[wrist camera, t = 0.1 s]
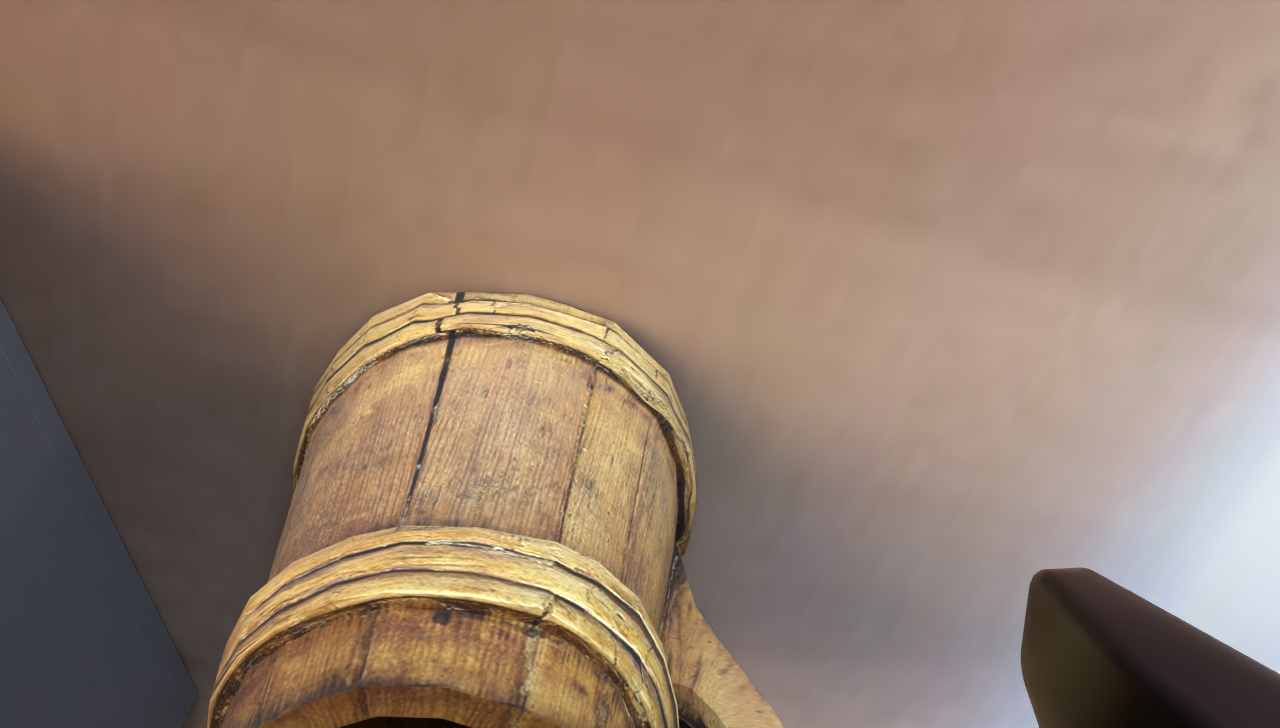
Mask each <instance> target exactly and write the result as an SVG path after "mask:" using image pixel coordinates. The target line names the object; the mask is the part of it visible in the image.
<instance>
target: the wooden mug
mask: <svg viewBox="0 0 1280 728" xmlns="http://www.w3.org/2000/svg"><path fill="white" fill-rule="evenodd" d="M696 504H697V486H696V464H695V459H694V454H693V448H692V443H691V437H690V432H689V427H688V421H687V417H686V415H685V413H684V410H683V408H682V405H681V403H680V400H679V398H678V395H677V393H676V390H675V388H674V385H673V383H672V381H671V378H670V376H669V373H668V372H667V371H666V370H665V369H664V368H662V367H661V366H660V365H659V364H658V363H657V362H656V361H655V360H654V359H653V358H652V357H651V356H650V355H649V354H648V353H646V352H645V351H644V350H643V349H642V348H641V347H640V346H639V345H638V344H637V343H636V342H635V341H634V340H633V339H632V338H631V337H629V336H628V335H627V334H626V333H625V332H624V331H623V330H622V329H621V328H620V327H619V326H618V325H617V324H616V323H615V322H613V321H610V320H607V319H604V318H601V317H598V316H595V315H592V314H589V313H587V312H584V311H581V310H578V309H575V308H573V307H571V306H569V305H566V304H562V303H559V302H555V301H551V300H548V299H544V298H541V297H537V296H534V295H525V294H506V293H488V292H456V293H427V294H425V295H423V296H420V297H418V298H415V299H413V300H411V301H408V302H406V303H403V304H401V305H398V306H396V307H394V308H391V309H389V310H386V311H384V312H381V313H379V314H377V315H374V316H373V317H372V318H371V319H370V320H369V321H368V322H367V323H366V324H365V325H364V326H363V327H362V328H361V329H360V330H359V331H358V332H357V333H356V334H355V335H354V336H353V337H352V338H351V339H350V340H349V341H348V342H347V343H346V344H345V345H344V346H343V347H342V348H341V349H340V350H339V351H338V353H337V354H336V356H335V357H334V359H333V360H332V362H331V363H330V365H329V366H328V368H327V369H326V371H325V372H324V374H323V375H322V377H321V378H320V380H319V381H318V383H317V384H316V386H315V387H314V391H313V394H312V398H311V401H310V405H309V409H308V412H307V416H306V419H305V423H304V426H303V430H302V434H301V438H300V442H299V446H298V450H297V454H296V458H295V462H294V466H293V499H292V502H291V505H290V509H289V512H288V515H287V519H286V522H285V525H284V529H283V532H282V535H281V539H280V542H279V545H278V549H277V552H276V555H275V559H274V562H273V565H272V569H271V572H270V575H269V579H268V582H267V584H266V585H265V586H263V587H262V588H261V589H260V590H259V591H257V592H256V593H255V594H254V595H252V596H251V597H250V599H249V601H248V603H247V605H246V606H245V608H244V610H243V612H242V614H241V616H240V618H239V620H238V622H237V624H236V626H235V628H234V630H233V632H232V634H231V636H230V638H229V640H228V642H227V644H226V647H225V650H224V653H223V656H222V659H221V663H220V666H219V670H218V674H217V677H216V681H215V685H214V688H213V692H212V696H211V699H210V703H209V713H208V722H207V728H784V726H783V725H782V723H781V722H780V720H779V719H778V717H777V716H776V714H775V713H774V711H773V710H772V708H771V707H770V705H769V704H768V702H767V701H766V700H765V698H764V697H763V696H762V694H761V693H760V692H759V691H758V689H757V688H756V687H755V686H754V684H753V683H752V682H751V680H750V679H749V678H748V677H747V675H746V674H745V673H744V671H743V670H742V669H741V668H740V666H739V665H738V664H737V663H736V661H735V660H734V659H733V657H732V656H731V655H730V654H729V652H728V651H727V650H726V649H725V647H724V646H723V645H722V643H721V642H720V641H719V639H718V638H717V636H716V635H715V634H714V632H713V631H712V629H711V628H710V626H709V625H708V623H707V622H706V621H705V619H704V618H703V616H702V615H701V613H700V612H699V610H698V609H697V608H696V606H695V603H694V600H693V597H692V593H691V590H690V587H689V583H688V580H687V577H686V574H685V570H684V567H683V564H682V560H681V559H682V557H683V556H684V553H685V550H686V548H687V545H688V542H689V538H690V534H691V529H692V524H693V519H694V514H695V509H696Z"/></svg>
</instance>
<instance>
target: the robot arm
mask: <svg viewBox="0 0 1280 728" xmlns="http://www.w3.org/2000/svg"><path fill="white" fill-rule="evenodd" d="M1021 667H1022V674H1023V679H1024V683H1025V686H1026V689H1027V692H1028V695H1029V698H1030V701H1031V704H1032V707H1033V710H1034V713H1035V716H1036V719H1037V722H1038V725H1039V728H1280V674H1279V673H1277V672H1275V671H1273V670H1271V669H1269V668H1268V667H1266V666H1264V665H1262V664H1260V663H1259V662H1257V661H1255V660H1253V659H1251V658H1250V657H1248V656H1246V655H1244V654H1242V653H1241V652H1239V651H1237V650H1235V649H1233V648H1232V647H1230V646H1228V645H1226V644H1224V643H1223V642H1221V641H1219V640H1217V639H1215V638H1214V637H1212V636H1210V635H1208V634H1206V633H1205V632H1203V631H1201V630H1199V629H1197V628H1195V627H1194V626H1192V625H1190V624H1188V623H1186V622H1185V621H1183V620H1181V619H1179V618H1177V617H1176V616H1174V615H1172V614H1170V613H1168V612H1167V611H1165V610H1163V609H1161V608H1159V607H1158V606H1156V605H1154V604H1152V603H1150V602H1149V601H1147V600H1145V599H1143V598H1141V597H1140V596H1138V595H1136V594H1134V593H1132V592H1131V591H1129V590H1127V589H1125V588H1123V587H1121V586H1120V585H1118V584H1116V583H1114V582H1112V581H1111V580H1109V579H1107V578H1105V577H1103V576H1102V575H1100V574H1098V573H1096V572H1094V571H1092V570H1090V569H1087V568H1065V569H1045V570H1040V571H1039V572H1037V573H1036V574H1035V575H1034V576H1033V578H1032V581H1031V583H1030V587H1029V593H1028V601H1027V609H1026V616H1025V624H1024V632H1023V640H1022V648H1021Z"/></svg>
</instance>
